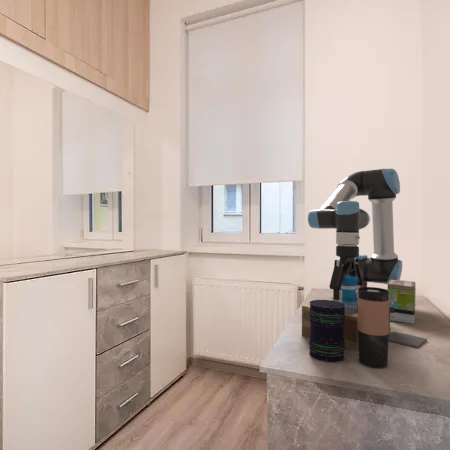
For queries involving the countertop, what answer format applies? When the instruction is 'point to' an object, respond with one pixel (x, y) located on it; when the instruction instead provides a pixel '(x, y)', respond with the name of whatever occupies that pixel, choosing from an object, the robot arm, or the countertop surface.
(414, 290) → the tea box
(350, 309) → the beverage bottle
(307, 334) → the walnut box
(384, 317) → the travel mug
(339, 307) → the storage jar
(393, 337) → the charcoal mat
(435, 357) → the countertop surface
